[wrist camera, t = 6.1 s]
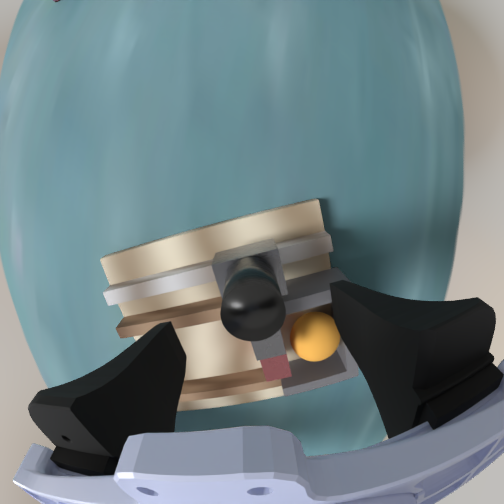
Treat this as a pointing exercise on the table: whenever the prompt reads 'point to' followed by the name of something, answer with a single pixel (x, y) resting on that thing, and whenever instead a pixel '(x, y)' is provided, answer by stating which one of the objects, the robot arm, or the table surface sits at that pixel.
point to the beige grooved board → (213, 297)
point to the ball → (314, 336)
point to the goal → (318, 293)
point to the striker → (255, 301)
